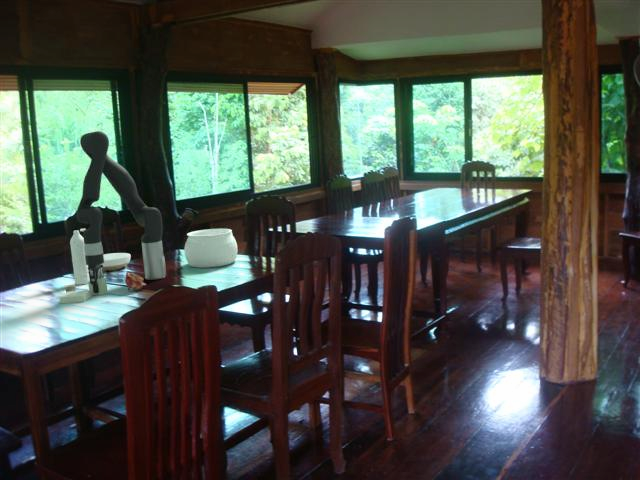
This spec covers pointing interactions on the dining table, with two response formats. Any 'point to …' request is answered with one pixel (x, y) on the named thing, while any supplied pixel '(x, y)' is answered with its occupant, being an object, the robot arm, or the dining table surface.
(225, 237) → the pot
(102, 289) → the green cube
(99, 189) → the robot arm
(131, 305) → the dining table surface
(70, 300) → the trivet
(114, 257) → the bowl
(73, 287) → the grey block
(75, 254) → the white bottle
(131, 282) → the flower
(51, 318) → the dining table surface
